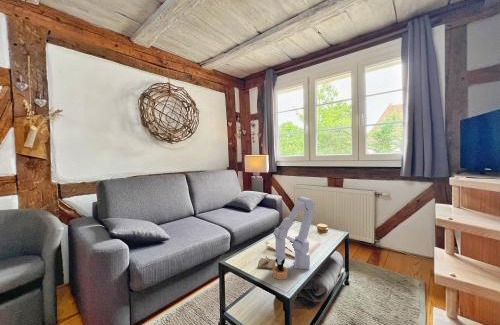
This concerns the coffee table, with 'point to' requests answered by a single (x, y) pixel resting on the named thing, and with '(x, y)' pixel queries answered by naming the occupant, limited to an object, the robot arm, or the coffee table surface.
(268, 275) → the coffee table surface
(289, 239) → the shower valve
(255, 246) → the coffee table surface
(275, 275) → the cord coil ring
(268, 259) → the hook post
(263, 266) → the walnut base board
